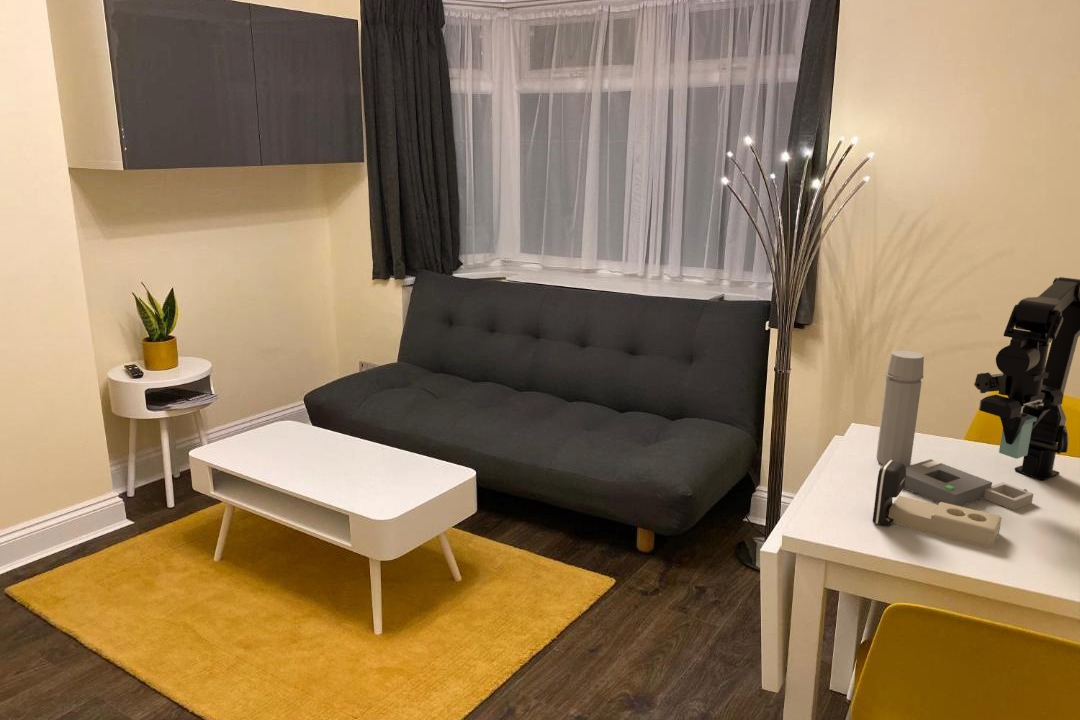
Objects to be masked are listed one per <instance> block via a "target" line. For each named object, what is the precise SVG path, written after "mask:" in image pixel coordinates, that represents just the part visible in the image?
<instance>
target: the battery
mask: <svg viewBox="0 0 1080 720" xmlns="http://www.w3.org/2000/svg"><path fill="white" fill-rule="evenodd" d="M906 467H907V466H906ZM906 467H905V465H904V464H903V463H900V462H895V461H893V460H887V461H886V462H885V463H884V464H881V466H880V468H879V471H878V476H877V481H876V489H875V498H874V505H873V506H874V507H873V516H872V523H874V524H875V525H879V526H886V527H887V526H890V525H892V524H893V523H892V522H893V519H891V518H892V517H891V516H889V508H890V507H891V506H892V504H893V503H894V502H893V498H895V499H896V498H898V496H900V494H901V492H902V491H903V490H904V487H905V480H906ZM889 517H890V518H889Z"/></svg>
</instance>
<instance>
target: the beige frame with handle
mask: <svg viewBox="0 0 1080 720" xmlns="http://www.w3.org/2000/svg"><path fill="white" fill-rule="evenodd" d="M983 499H984V500H987V501H990V502H991V503H994V504H997V505H1000V506H1002V507H1005V508H1007V509H1010V510H1013V511H1014V510H1017V509H1020V508H1023V507H1025V506H1028V505H1031V504H1032V503H1033V499H1034V493H1032V492H1030V491H1028V490H1027V489H1022V488H1019V487H1016V486H1013V485H1011V484H1009V483H1006V482H1000V483H997V484H994V485H992V487H990V488H987V489H985V492H984V498H983Z"/></svg>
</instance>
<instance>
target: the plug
mask: <svg viewBox="0 0 1080 720" xmlns="http://www.w3.org/2000/svg"><path fill="white" fill-rule="evenodd" d="M1023 414H1024V413H1023ZM1026 415H1028V414H1026ZM1035 421H1037V417H1035V416H1031V415H1028V417H1027V419H1026V421H1025V423H1024V424H1023V426H1022V428H1021V430H1020V432H1019V433H1018V435H1017V437H1016V439H1015V441H1014V442H1013V444H1007V443H1006V440H1005V435H1004V431H1003V430H1002V432H1001V438H1000V439H1001V440H1000V444H999V448H998V449H999V450H998V454H1001V455H1004V456H1006V457H1007V456H1008V457H1010V458H1012V459H1015V460H1016V459H1017V460H1018V459H1021V458H1024V456H1027V453H1028V448H1029V442H1030V436H1031V431H1032V425H1033V422H1035Z"/></svg>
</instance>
